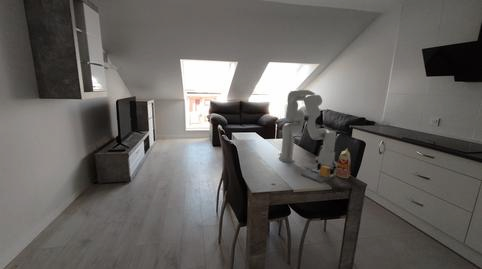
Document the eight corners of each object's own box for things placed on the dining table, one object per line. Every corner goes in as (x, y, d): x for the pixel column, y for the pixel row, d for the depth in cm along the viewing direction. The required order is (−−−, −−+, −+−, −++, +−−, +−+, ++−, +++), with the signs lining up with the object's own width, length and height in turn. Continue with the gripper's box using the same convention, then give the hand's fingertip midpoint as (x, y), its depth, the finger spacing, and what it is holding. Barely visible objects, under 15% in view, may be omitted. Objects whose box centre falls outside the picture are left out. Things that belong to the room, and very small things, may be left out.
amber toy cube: (319, 174, 162) (320, 167, 160) (323, 173, 165) (324, 165, 163) (326, 177, 158) (327, 169, 157) (329, 175, 161) (330, 167, 160)
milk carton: (337, 171, 172) (341, 146, 167) (350, 175, 166) (354, 149, 162) (333, 175, 165) (337, 149, 161) (347, 179, 160) (351, 151, 155)
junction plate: (300, 174, 163) (301, 166, 162) (315, 169, 175) (315, 161, 173) (320, 182, 152) (322, 174, 150) (334, 176, 163) (335, 168, 161)
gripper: (314, 146, 161) (311, 169, 165) (337, 153, 148) (333, 177, 152) (319, 144, 165) (317, 166, 169) (343, 151, 153) (339, 174, 157)
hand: (324, 171), depth 161 cm, fingers open, 9 cm apart
